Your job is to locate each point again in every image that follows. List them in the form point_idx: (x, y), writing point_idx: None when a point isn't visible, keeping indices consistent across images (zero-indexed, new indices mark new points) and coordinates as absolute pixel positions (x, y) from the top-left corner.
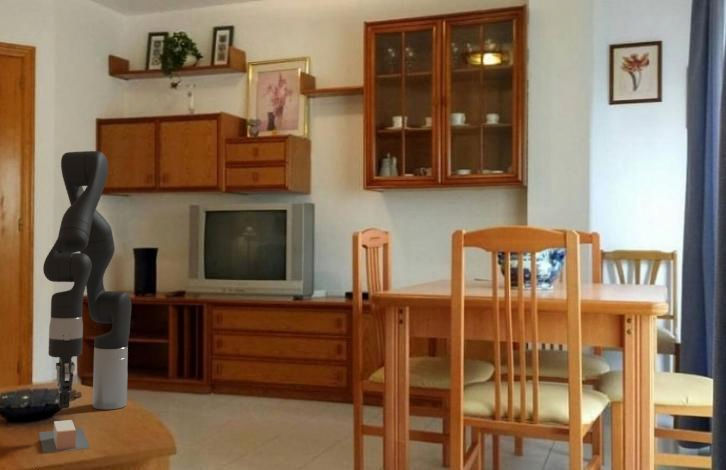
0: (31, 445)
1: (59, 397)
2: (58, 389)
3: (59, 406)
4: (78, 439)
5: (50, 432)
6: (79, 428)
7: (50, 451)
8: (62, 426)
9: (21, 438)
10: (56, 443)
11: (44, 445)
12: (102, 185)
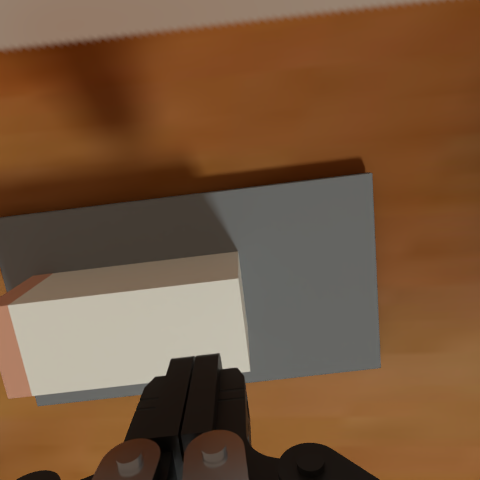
0: (189, 151)
1: (167, 405)
2: (201, 446)
3: (171, 362)
4: None
5: (346, 231)
6: (377, 357)
7: (11, 250)
8: (108, 329)
9: (332, 90)
10: (51, 279)
11: (115, 217)
12: None
